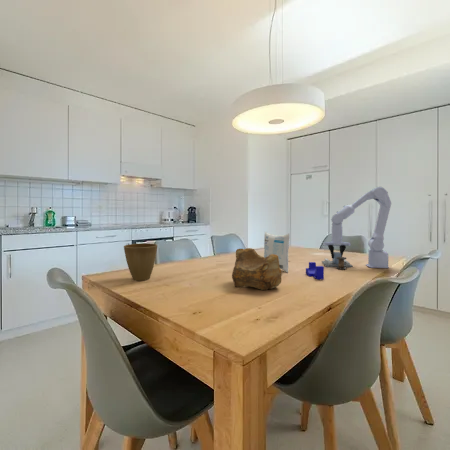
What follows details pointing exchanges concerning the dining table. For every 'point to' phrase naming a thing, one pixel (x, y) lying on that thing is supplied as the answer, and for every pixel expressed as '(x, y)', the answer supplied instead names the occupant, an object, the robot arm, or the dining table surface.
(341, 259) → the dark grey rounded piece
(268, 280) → the rough brown rock
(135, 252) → the plant pot
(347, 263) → the grey railed square plate
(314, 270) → the cable clip
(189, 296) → the dining table surface
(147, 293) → the dining table surface
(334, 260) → the blue-grey block
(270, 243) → the pouch
